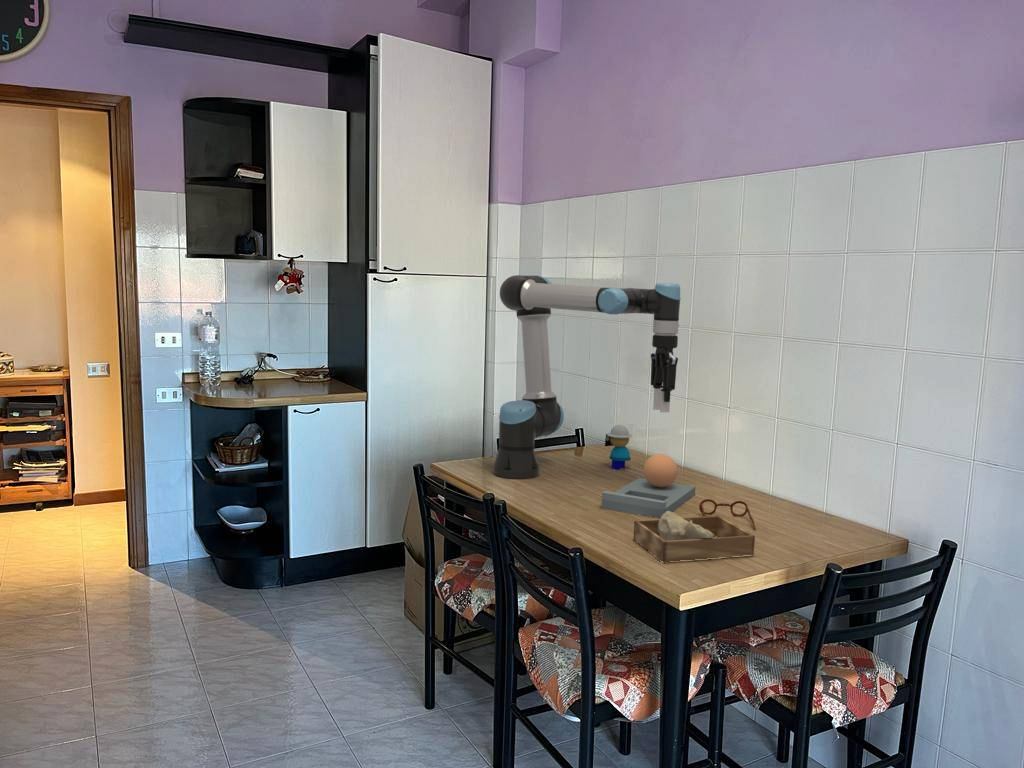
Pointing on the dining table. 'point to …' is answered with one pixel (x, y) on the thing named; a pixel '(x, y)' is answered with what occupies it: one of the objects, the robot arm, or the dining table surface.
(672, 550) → the wooden tray
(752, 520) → the glasses
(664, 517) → the beige irregular lump
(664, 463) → the ball
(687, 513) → the dining table surface
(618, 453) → the toy
